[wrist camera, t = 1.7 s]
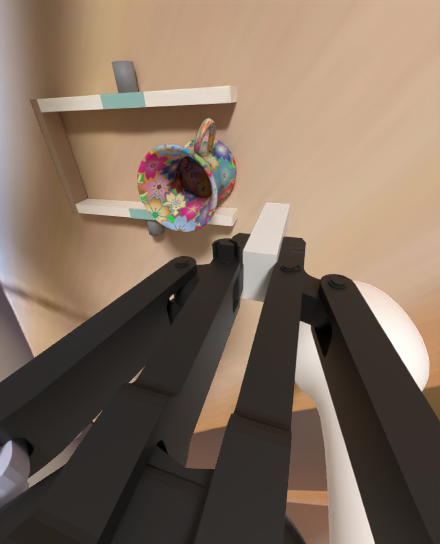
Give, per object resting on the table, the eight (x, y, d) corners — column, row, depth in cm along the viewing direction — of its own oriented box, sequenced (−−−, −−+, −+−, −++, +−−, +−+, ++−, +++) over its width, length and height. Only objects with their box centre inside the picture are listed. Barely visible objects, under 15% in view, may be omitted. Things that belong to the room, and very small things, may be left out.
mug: (223, 213, 39) (197, 246, 30) (170, 182, 39) (129, 206, 30) (264, 133, 31) (244, 148, 23) (198, 94, 31) (154, 94, 23)
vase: (295, 341, 49) (265, 658, 21) (284, 266, 41) (214, 627, 13) (399, 347, 42) (548, 812, 15) (412, 260, 34) (794, 937, 7)
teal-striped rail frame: (38, 73, 35) (17, 71, 33) (236, 52, 28) (228, 48, 25) (90, 222, 48) (78, 229, 45) (237, 236, 40) (232, 245, 38)
